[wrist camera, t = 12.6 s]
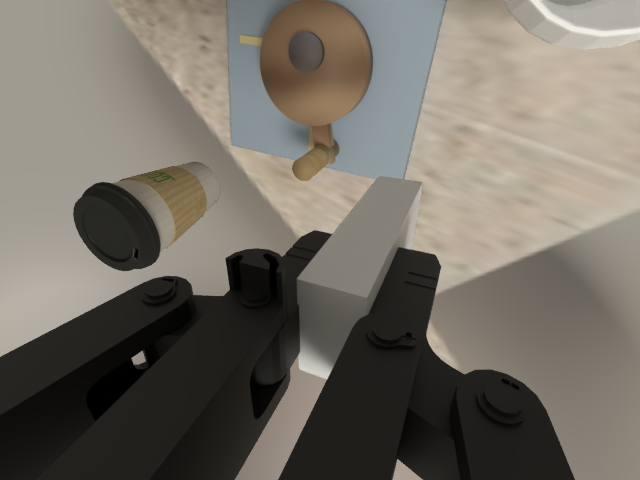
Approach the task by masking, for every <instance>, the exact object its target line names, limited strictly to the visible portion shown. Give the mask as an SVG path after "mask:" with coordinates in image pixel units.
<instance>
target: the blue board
mask: <svg viewBox="0 0 640 480" xmlns="http://www.w3.org/2000/svg"><path fill="white" fill-rule="evenodd" d="M296 1H299V0H227V21H228V52H229V84H230V115H231V145H233V146H237V147H241V148H246V149H250V150H254V151H258V152H262V153H267V154H271V155H275V156H279V157H284V158H288V159H292V160H297V159H299V158H300V157H302V156H303V155H305V154H306V153H307V152H309V151H310V150H312V149H313V148H314V141H313V133H312V126H308V125H303V124H300V123H297V122H295V121H293V120H291V119H289V118H288V117H286V116H285V115H284V114H283V113H282V112H281V111H280V110H279V109H278V108H277V107H276V106H275V105H274V103H273V102H272V100H271V99H270V97H269V96H268V93H267V91H266V89H265V86H264V84H263V80H262V76H261V70H260V49H261V44H262V40H263V37H264V34H265V32H266V29H267V27H268V26H269V24H270V22H271V21H272V19H273V18H274V17H275V16H276V14H277V13H279V12H280V11H281V10H282V9H283V8H285V7H286V6H287V5H289V4H291V3H293V2H296ZM323 1H328V2H333V3H336V4H339V5H341V6H343V7H344V8H346V9H348V10H349V11H350V12H351V13H353V14H354V15H355V16H356V17H357V18H358V20H359V21H360V22H361V24H362V25H363V27H364V28H365V30H366V32H367V34H368V37H369V40H370V43H371V47H372V52H373V72H372V78H371V82H370V85H369V87H368V90H367V92H366V94H365V96H364V97H363V99H362V100H361V102H360V103H359V104H358V105H357V106H356V108H354V109H353V110H352V111H351V112H349V113H348V114H346V115H345V116H343V117H342V118H340V119H338V120H337V121H334V122H332V132H333V140H334V141H336V142H337V144H338V145H339V154H338V155H337V156H336V157H335V159H336V161H335V162H334V163H333V164H327V165H326V166H325V167H326V168H330V169H334V170H339V171H343V172H347V173H351V174H355V175H360V176H364V177H368V178H372V179H377V178H378V177H379V176H384V177H391V178H398V179H404V178H405V174H406V170H407V165H408V161H409V157H410V153H411V149H412V144H413V140H414V136H415V132H416V128H417V123H418V119H419V115H420V111H421V107H422V102H423V98H424V94H425V90H426V86H427V82H428V77H429V73H430V69H431V65H432V61H433V56H434V52H435V48H436V44H437V40H438V35H439V31H440V27H441V23H442V19H443V15H444V10H445V6H446V2H447V0H323Z"/></svg>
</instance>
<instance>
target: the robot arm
mask: <svg viewBox="0 0 640 480" xmlns="http://www.w3.org/2000/svg"><path fill="white" fill-rule="evenodd" d="M422 184H423V182H418V181H411V180H404V179H398V178H391V177H384V176H379V177H378V178H377V179H376V180H375V182H374V183H373V184H372V185H371V187H370V188H369V189H368V190H367V192H366V193H365V194H364V195H363V197H362V198H361V199H360V200H359V202H358V203H357V204H356V205H355V207H354V208H353V209H352V210H351V212H350V213H349V214H348V215H347V217H346V218H345V219H344V220H343V222H342V223H341V224H340V225H339V227H338V228H337V229H336V230H335V232H334V233H333V234H330V233H325V232H320V231H316V230H315V231H312V232H310V233H308V234H306V235H304V236H302V237H301V238H300V239H299V240H298V241H297V242H296V243H295V244H294V245H293V247H292V248H290V249H289V250H288V251H287V252H286V255H284V256H283V257H281V256H280V255H279V254H278V253H275V252H273V251H271V250H266V249H258V248H257V249H247V250H243V251H240V252H236V253H234V254H232V255H231V256H229V257H227V258H226V265H227V271H228V278H229V285H230V290H229V291H228V292H227V293H226V294H225V295H224V296H201V295H193V291H192V286H191V284H190V283H189V282H188V281H187V280H186V279H183V278H181V277H177V276H164V277H159V278H154V279H152V280H149V281H147V282H144V283H142V284H140V285H138V286H136V287H134V288H132V289H130V290H128V291H127V292H125V293H123V294H121V295H119V296H117V297H115V298H113V299H111V300H109V301H107V302H105V303H103V304H101V305H99V306H98V307H96V308H94V309H92V310H90V311H88V312H86V313H84V314H82V315H80V316H78V317H76V318H74V319H72V320H71V321H69V322H67V323H65V324H63V325H61V326H59V327H57V328H56V329H53V330H51V331H49V332H48V333H45V334H44V335H42V336H40V337H38V338H36V339H34V340H32V341H30V342H28V343H26V344H24V345H22V346H20V347H18V348H17V349H15V350H13V351H11V352H9V353H7V354H5V355H3V356H1V357H0V480H235V478H236V476H237V475H238V473H239V471H240V469H241V468H242V466H243V464H244V463H245V461H246V459H247V457H248V456H249V454H250V452H251V450H252V449H253V447H254V445H255V443H256V442H257V440H258V438H259V437H260V435H261V433H262V431H263V430H264V428H265V426H266V425H267V423H268V421H269V419H270V418H271V416H272V414H273V412H274V411H275V409H276V407H277V405H278V404H279V402H280V400H281V398H282V397H283V395H284V393H285V392H286V390H287V388H288V385H289V382H290V367H291V366H292V364H293V362H294V361H295V359H296V358H297V356H298V354H299V369H300V370H302V371H305V372H308V373H311V374H313V375H316V376H319V377H322V378H324V379H327V381H326V383H325V385H324V387H323V389H322V391H321V393H320V395H319V397H318V400H317V401H316V404H315V406H314V408H313V410H312V412H311V414H310V416H309V418H308V420H307V422H306V424H305V426H304V428H303V430H302V432H301V434H300V436H299V439H298V441H297V443H296V445H295V447H294V449H293V451H292V453H291V455H290V457H289V459H288V461H287V463H286V465H285V467H284V469H283V471H282V473H281V475H280V477H279V479H278V480H392V479H393V475H394V471H395V467H396V462H397V459H399V460H400V461H401V462H402V463H403V464H405V465H406V466H407V467H408V468H410V469H411V470H412V471H413V472H414V473H416V474H417V475H418V476H419V477H420V478H422V479H423V480H575V479H574V476H573V474H572V472H571V469H570V467H569V464H568V462H567V459H566V457H565V454H564V452H563V450H562V447H561V445H560V442H559V440H558V438H557V435H556V433H555V430H554V428H553V425H552V423H551V421H550V418H549V416H548V413H547V411H546V409H545V408H544V406H543V404H542V403H541V401H540V400H539V398H538V397H537V395H536V394H535V393H534V392H532V391H531V390H530V389H529V388H528V387H527V386H526V385H525V384H524V383H522V382H520V381H518V380H517V379H515V378H513V377H511V376H509V375H507V374H504V373H501V372H497V371H494V370H474V371H472V372H469V373H467V374H465V375H464V374H463V373H461V372H459V371H457V370H456V369H454V368H452V367H451V366H449V365H448V364H446V363H445V362H444V361H442V360H441V359H440V358H439V357H438V356H437V355H436V354H435V353H434V352H433V350H432V349H431V347H430V346H429V344H428V341H427V337H426V332H427V328H428V323H429V319H430V315H431V310H432V306H433V301H434V297H435V292H436V287H437V283H438V278H439V274H440V269H441V266H440V264H439V261H438V259H437V257H436V255H434V254H429V253H424V252H420V251H415V250H412V245H413V239H414V232H415V226H416V220H417V214H418V208H419V202H420V196H421V190H422ZM141 351H143V353H144V356H145V359H146V362H144V363H142V364H139V365H133V362H132V359H131V358H132V357H133V356H135V355H136V354H138V353H139V352H141Z"/></svg>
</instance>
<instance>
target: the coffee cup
mask: <svg viewBox="0 0 640 480" xmlns="http://www.w3.org/2000/svg"><path fill="white" fill-rule="evenodd" d="M219 196H220V184H219V181H218V179H217V177H216V176H215V174H214V173H213V171H212V170H211V169H210V168H209V167H207V166H206V165H204V164H202V163H198V162H191V163H187V164H183V165H179V166H176V167H175V166H172V167H168V168H164V169H160V170H156V171H152V172H148V173H144V174H141V175H137V176H133V177H129V178H126V179H122V180H120V181H118V182H116V183H113V184H111V183H106V182H101V183H96V184H94V185H93V186H91V187H90V188H88V189H87V190H86V191H85V192H84V194H83V195H82V197H81V198H80V199H79V200H78V201H77V202H76V203H75V206H74V213H73V215H74V221H75V225H76V228H77V230H78V232H79V235H80V237H81V238H82V240H83V242H84V243H85V244H86V246H87V247H88V248H89V250H90V251H91V252H92V253H93V254H94V255H95V256H96V257H97V258H98V259H100V260H101V261H102V262H104V263H105V264H107V265H108V266H110V267H112V268H114V269H117V270H121V271H130V270H133V269H142V268H145V267H148V266H150V265H152V264H153V263H155V262H156V260H157V259H158V257H159V254H160V252H161V251H162V250H163V249H166V248H168V247H169V246H170V245H171V244H173V243H174V242H175V241H176V240H177V239H178V238H179V237H180V236H181V235H182V234H183V233H185V232H186V231H187V230H188V229H189V228H190V227H191V226H192V225H193V224H194V223H196V222H197V221H198V220H199V219H200V218H201V217H202V216H203V215H204V213H205V212H206V211H207V210H208V209H209V208H210V207H212V206H213V205H214V204H215V203H216V202H217V201H218V199H219Z"/></svg>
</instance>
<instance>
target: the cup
mask: <svg viewBox="0 0 640 480" xmlns="http://www.w3.org/2000/svg"><path fill="white" fill-rule="evenodd" d="M504 1H505V4H506V6H507V8H508V10H509V13H510V14H511V15H512V16H513V17H514V18H515V19H516V20H517V22H518V23H519V24H520V25H521V26H522V27H523V28H524V29H525V30H526V31H527V32H529V33H531V34H533V35H535V36H536V37H538V38H540V39H542V40H544V41H546V42H548V43H551V44H556V45H562V46H567V47H573V48H578V49H594V48H607V47H617V46H620V45H624V44H627V43H630V42H633V41H637V40H640V0H504Z"/></svg>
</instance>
